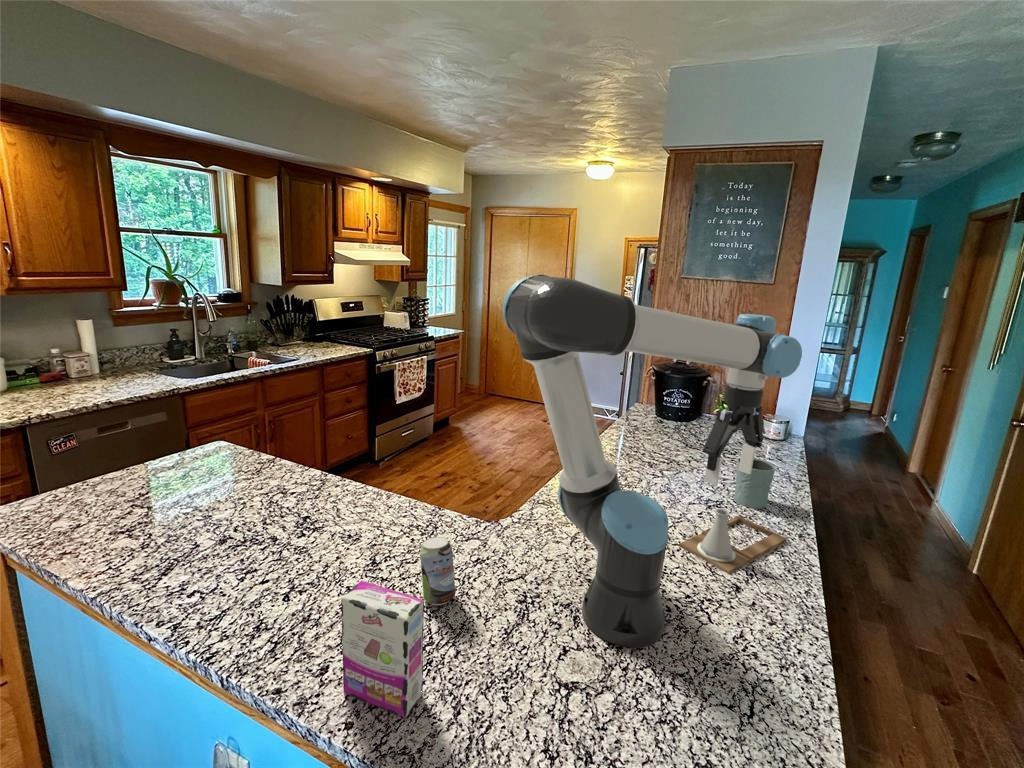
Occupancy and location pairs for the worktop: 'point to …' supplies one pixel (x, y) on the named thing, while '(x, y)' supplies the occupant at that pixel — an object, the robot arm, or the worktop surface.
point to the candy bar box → (383, 647)
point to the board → (738, 555)
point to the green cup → (754, 484)
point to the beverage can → (437, 570)
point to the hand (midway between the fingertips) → (728, 477)
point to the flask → (718, 537)
